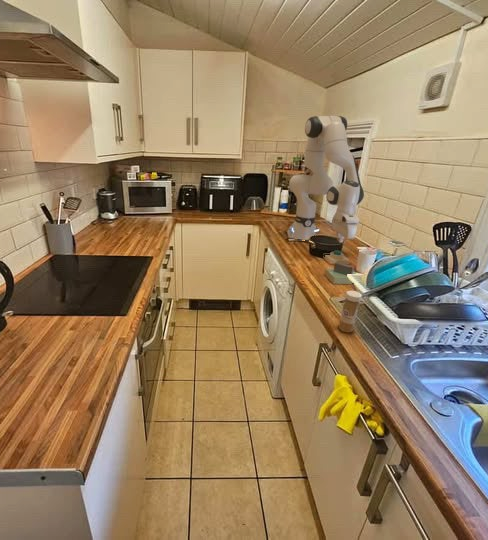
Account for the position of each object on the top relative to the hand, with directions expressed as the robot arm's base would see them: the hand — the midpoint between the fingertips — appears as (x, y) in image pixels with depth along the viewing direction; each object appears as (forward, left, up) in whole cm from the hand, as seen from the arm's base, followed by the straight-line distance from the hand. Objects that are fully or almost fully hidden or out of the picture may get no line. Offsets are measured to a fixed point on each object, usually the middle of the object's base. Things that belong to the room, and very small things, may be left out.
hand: (339, 241), depth 154 cm
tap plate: (+24, -7, -10) cm, 27 cm away
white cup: (+14, +8, -11) cm, 19 cm away
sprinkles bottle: (+63, -23, -11) cm, 68 cm away
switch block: (+1, 0, -10) cm, 10 cm away
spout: (+24, -7, -7) cm, 26 cm away
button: (+1, 0, -7) cm, 7 cm away
